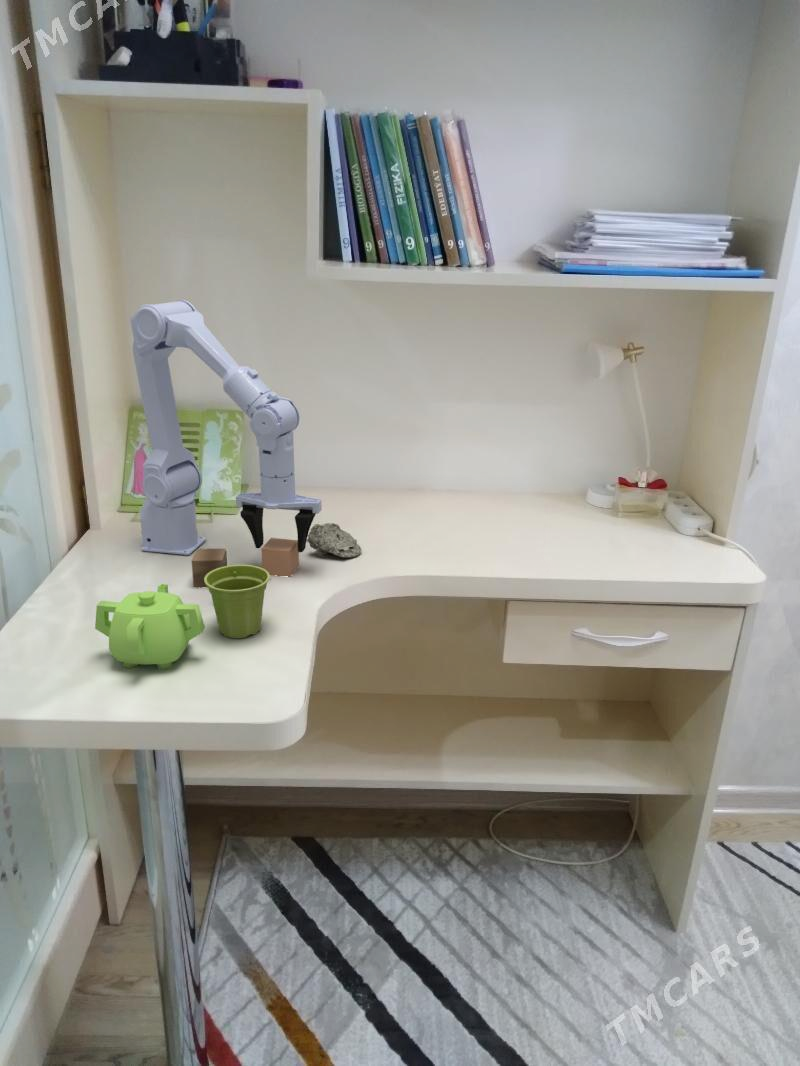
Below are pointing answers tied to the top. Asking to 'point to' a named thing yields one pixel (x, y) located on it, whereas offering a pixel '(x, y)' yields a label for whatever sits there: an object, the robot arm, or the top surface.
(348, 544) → the rock sample
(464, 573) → the top surface
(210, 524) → the top surface
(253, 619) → the plant pot
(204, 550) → the walnut block
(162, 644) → the green handled lidded container
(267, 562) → the terracotta block
